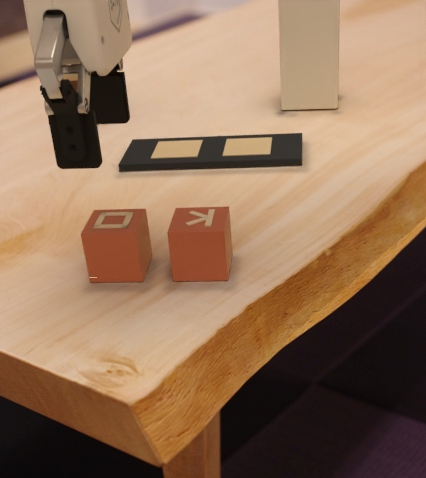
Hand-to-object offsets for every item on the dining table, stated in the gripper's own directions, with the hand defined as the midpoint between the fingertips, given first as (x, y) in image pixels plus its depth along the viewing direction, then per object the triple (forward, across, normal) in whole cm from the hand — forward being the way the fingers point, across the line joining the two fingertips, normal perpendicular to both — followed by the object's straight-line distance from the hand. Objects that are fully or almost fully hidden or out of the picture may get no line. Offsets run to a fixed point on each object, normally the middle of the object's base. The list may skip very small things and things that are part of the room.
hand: (96, 143), depth 57 cm
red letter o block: (+11, 0, 0) cm, 11 cm away
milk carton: (+11, +44, -16) cm, 48 cm away
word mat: (+11, +26, -6) cm, 29 cm away
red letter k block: (+11, 0, -7) cm, 13 cm away
